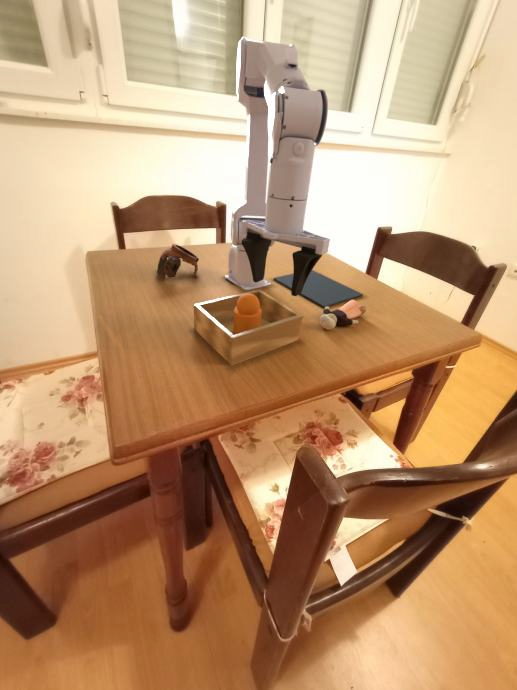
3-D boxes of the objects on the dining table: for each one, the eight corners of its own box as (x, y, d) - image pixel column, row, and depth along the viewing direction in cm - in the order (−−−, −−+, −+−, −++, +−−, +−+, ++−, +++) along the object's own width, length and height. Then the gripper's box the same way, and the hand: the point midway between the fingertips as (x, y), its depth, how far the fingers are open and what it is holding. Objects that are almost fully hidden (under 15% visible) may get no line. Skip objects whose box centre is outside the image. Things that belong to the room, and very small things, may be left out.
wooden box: (194, 331, 57) (193, 304, 54) (257, 313, 65) (259, 288, 62) (231, 367, 49) (232, 338, 46) (298, 342, 57) (302, 315, 54)
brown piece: (158, 268, 82) (172, 240, 80) (190, 286, 84) (205, 259, 82) (145, 273, 71) (161, 241, 69) (182, 294, 73) (199, 263, 71)
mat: (273, 279, 81) (273, 278, 81) (311, 271, 89) (311, 269, 88) (323, 308, 70) (324, 306, 69) (362, 295, 77) (363, 294, 77)
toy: (228, 331, 57) (229, 291, 53) (249, 325, 60) (252, 286, 55) (242, 344, 54) (245, 303, 50) (264, 336, 57) (268, 297, 52)
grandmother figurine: (372, 302, 65) (342, 318, 57) (369, 319, 67) (340, 338, 58) (339, 295, 70) (307, 309, 61) (337, 311, 71) (306, 327, 63)
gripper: (229, 191, 45) (227, 280, 52) (319, 208, 38) (302, 308, 45) (259, 188, 50) (253, 271, 57) (343, 203, 43) (324, 295, 50)
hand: (276, 287), depth 51 cm, fingers open, 7 cm apart
